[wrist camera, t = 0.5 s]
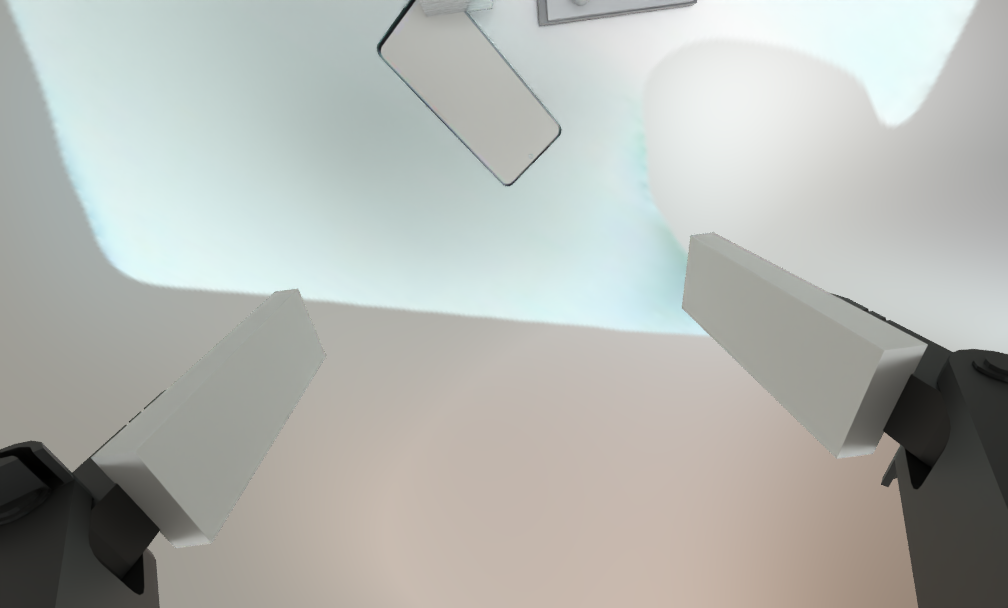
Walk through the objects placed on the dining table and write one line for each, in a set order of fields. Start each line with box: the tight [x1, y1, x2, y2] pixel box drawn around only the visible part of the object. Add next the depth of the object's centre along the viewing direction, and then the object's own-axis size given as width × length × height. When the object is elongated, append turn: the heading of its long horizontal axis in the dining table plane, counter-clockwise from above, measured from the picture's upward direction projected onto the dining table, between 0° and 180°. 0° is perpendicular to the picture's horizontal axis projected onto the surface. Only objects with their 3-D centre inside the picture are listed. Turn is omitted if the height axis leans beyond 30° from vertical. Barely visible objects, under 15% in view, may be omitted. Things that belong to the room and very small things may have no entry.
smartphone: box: [377, 0, 561, 186], centre depth 31 cm, size 7×1×15 cm
